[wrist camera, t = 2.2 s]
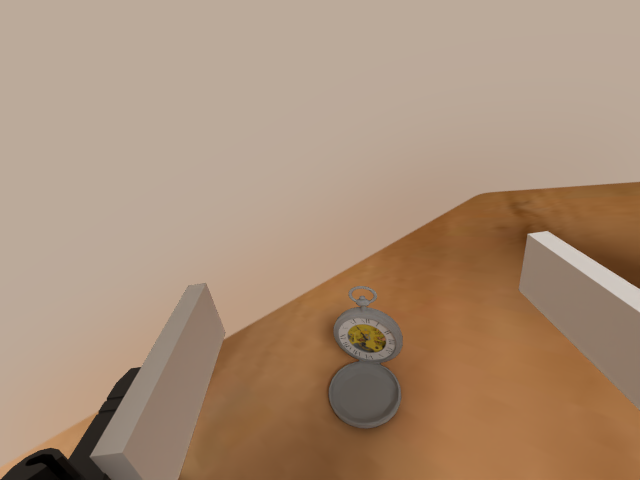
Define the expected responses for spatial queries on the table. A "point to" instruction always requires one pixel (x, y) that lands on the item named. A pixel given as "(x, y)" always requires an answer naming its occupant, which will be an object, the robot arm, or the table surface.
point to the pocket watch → (366, 366)
